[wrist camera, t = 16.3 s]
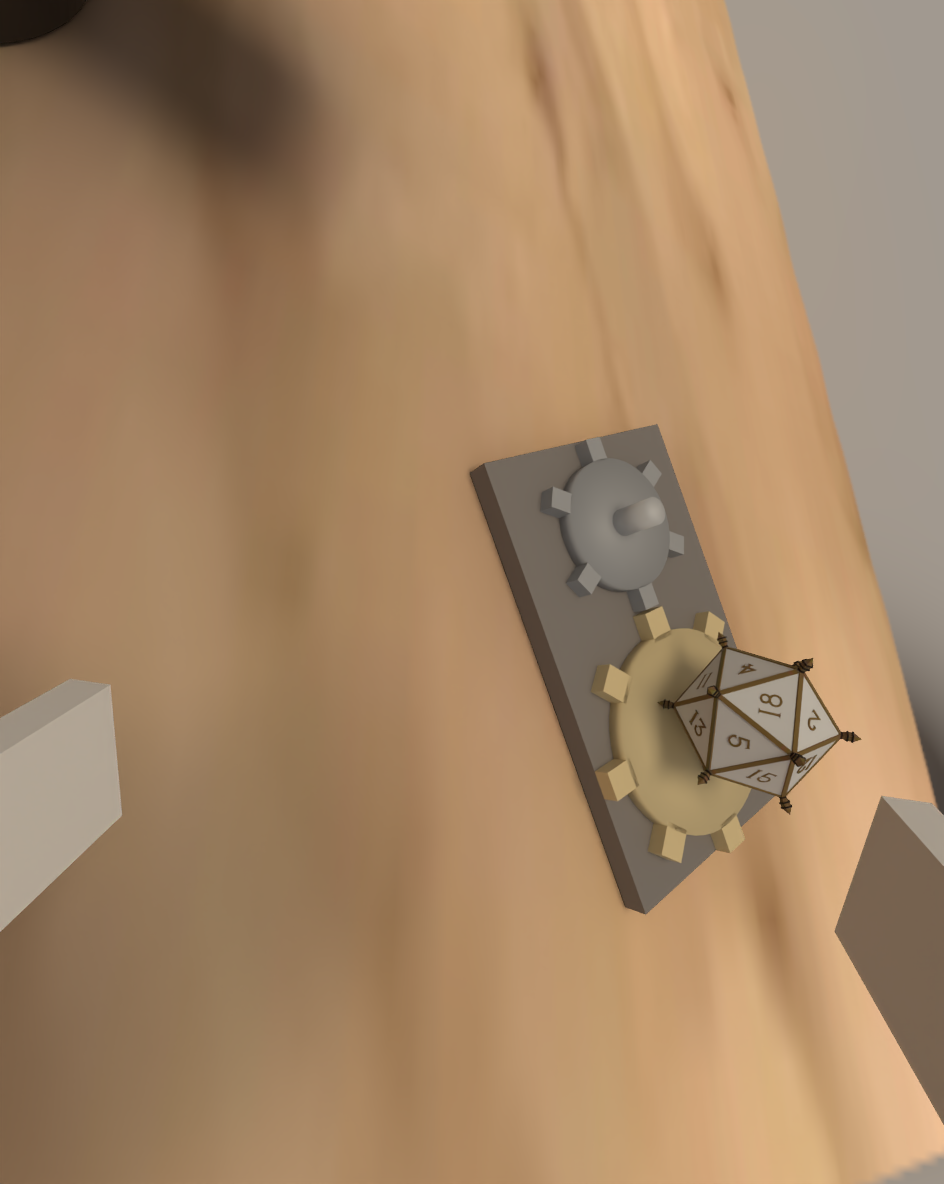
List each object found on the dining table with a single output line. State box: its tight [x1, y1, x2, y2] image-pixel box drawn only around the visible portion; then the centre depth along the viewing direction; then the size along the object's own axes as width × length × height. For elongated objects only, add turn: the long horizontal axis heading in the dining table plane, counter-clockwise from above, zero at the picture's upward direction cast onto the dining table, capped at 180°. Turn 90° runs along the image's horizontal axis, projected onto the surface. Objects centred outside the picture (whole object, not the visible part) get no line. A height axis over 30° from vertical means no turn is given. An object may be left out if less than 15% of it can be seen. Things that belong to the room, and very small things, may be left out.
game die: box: [657, 632, 861, 814], centre depth 32 cm, size 9×8×10 cm
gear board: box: [470, 424, 774, 914], centre depth 36 cm, size 26×15×5 cm, turn 23°
